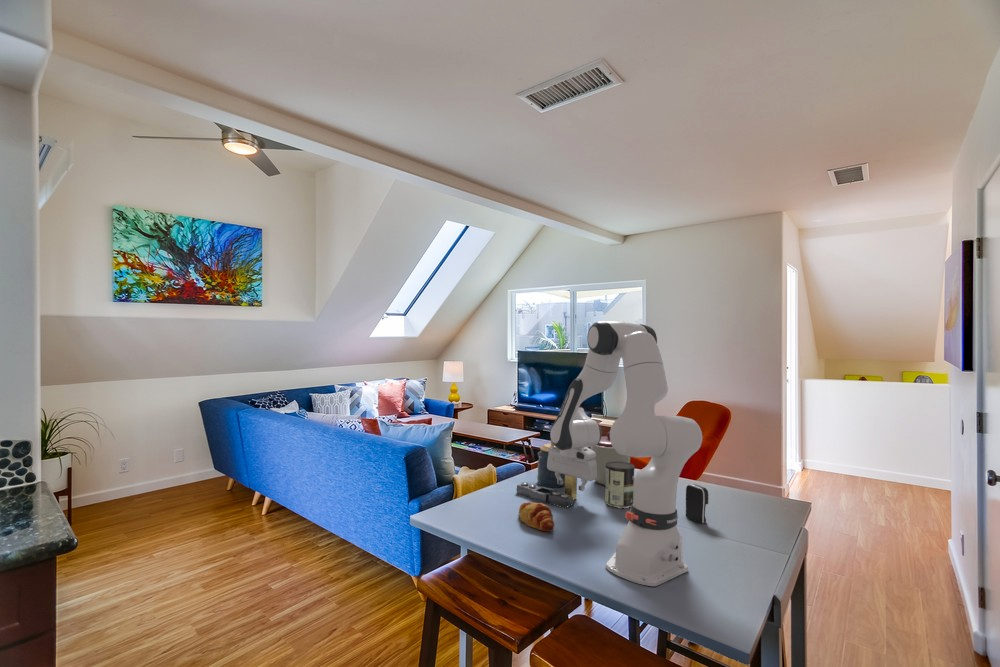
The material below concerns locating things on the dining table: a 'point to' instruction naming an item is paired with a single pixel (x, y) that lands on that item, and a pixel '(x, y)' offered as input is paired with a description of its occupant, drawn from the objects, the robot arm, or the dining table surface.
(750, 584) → the dining table surface
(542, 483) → the canister
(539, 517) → the croissant
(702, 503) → the battery charger
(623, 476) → the coffee can
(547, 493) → the silver studded bar
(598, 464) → the canister
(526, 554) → the dining table surface
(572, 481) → the gold rectangular block
